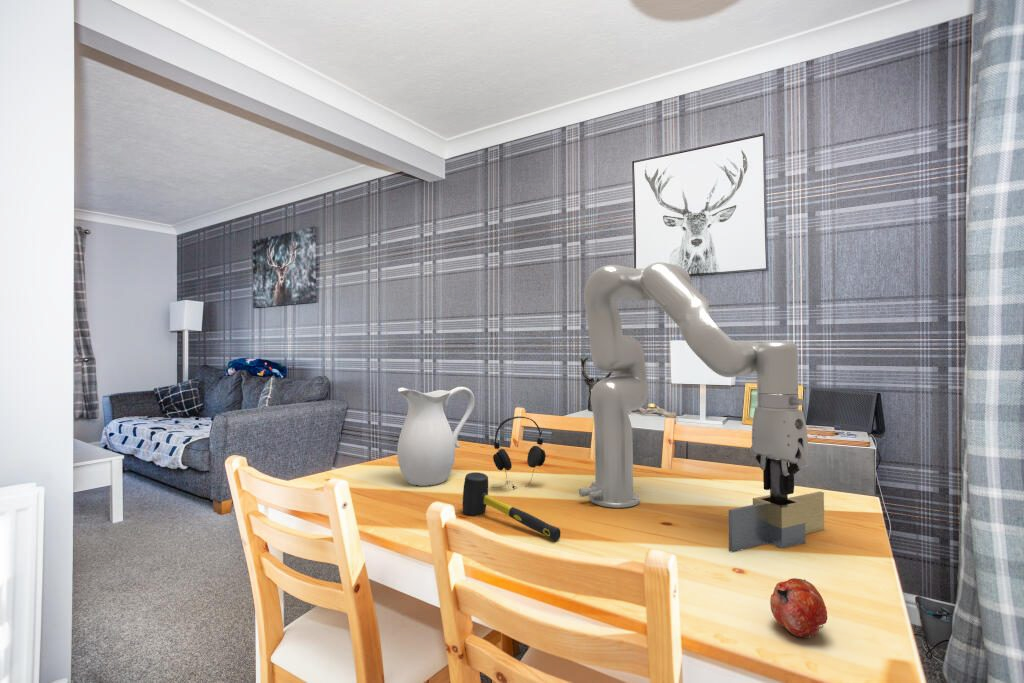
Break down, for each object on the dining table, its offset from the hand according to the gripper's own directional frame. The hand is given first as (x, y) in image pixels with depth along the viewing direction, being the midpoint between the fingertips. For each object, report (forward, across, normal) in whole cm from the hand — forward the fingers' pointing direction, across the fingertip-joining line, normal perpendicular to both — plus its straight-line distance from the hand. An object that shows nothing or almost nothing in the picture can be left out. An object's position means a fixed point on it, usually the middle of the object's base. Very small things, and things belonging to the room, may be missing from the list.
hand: (778, 490), depth 106 cm
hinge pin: (+4, 0, 0) cm, 4 cm away
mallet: (+10, +32, +46) cm, 57 cm away
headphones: (+10, +59, +32) cm, 68 cm away
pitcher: (+10, +76, +50) cm, 92 cm away
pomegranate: (+10, -24, +26) cm, 37 cm away
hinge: (+10, 0, 0) cm, 10 cm away
